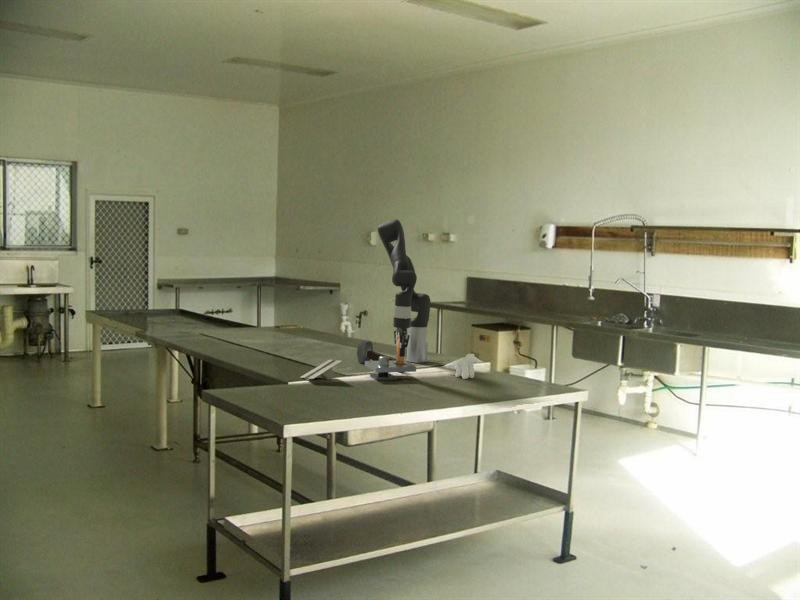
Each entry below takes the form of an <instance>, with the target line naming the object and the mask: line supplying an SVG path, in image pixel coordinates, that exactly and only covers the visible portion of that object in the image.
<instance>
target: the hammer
mask: <svg viewBox="0 0 800 600" xmlns="http://www.w3.org/2000/svg"><path fill="white" fill-rule="evenodd" d="M380 356H386V357H389V361H396V358H394V357H393V356H392V357H391V356H388V355H385V354H383V353H380V352H376V351H374V345H373V342H372V341H371V340H369V339H361V340H360V341H359V343H358V346H357V349H356V357H357V358H356V359H357V362H358V363H359V364H363V365H365V361H379V357H380ZM397 373H399V374H403V372H397Z"/></svg>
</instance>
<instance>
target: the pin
mask: <svg viewBox="0 0 800 600" xmlns="http://www.w3.org/2000/svg"><path fill="white" fill-rule="evenodd" d="M401 341H402V340H401ZM396 350H397V354H396V358H395V359H396V365H404V361H405V356H404V357H400V356H399V354H400V343H399V336H398V335H397V346H396Z"/></svg>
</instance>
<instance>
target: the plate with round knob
mask: <svg viewBox="0 0 800 600" xmlns="http://www.w3.org/2000/svg"><path fill="white" fill-rule="evenodd" d="M386 356H387V355H386ZM386 356H380V357H379V361H373V360H370V361H365V363H364V366H365V367H366V368H368V369H370V370H372V371H373V372H375V373H369V376H370V378H373V379H374V380H375V381H386V380H387V381H390V380H393V381H394V380H397V377H396V376H395V375H393V374H391V373H398V372H402V373H407V372H408V373H411V372H413V373H414V372H417V366H416V365H413V364H411V363H410V362H408V361H406V360H404V365H396V361H389V357H390V356H389V357H386Z"/></svg>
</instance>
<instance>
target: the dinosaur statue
mask: <svg viewBox="0 0 800 600" xmlns="http://www.w3.org/2000/svg"><path fill="white" fill-rule="evenodd" d="M475 363H476V364H477V363H478V364H483V360H481V359H479V358H478V357H476V356H475V354H474V353H467V354H466V355H465V356H463V357H461V358H459V359H458V358H455V359H454V360H453V361H451V362H449V363H448V362H447V363H446V364H445V365H442V368H447V369H451V370H452V369H453V370H455V377H456V378H460V377H461V379H463V380H467V379H474V376H475V367H474V364H475Z"/></svg>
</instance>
